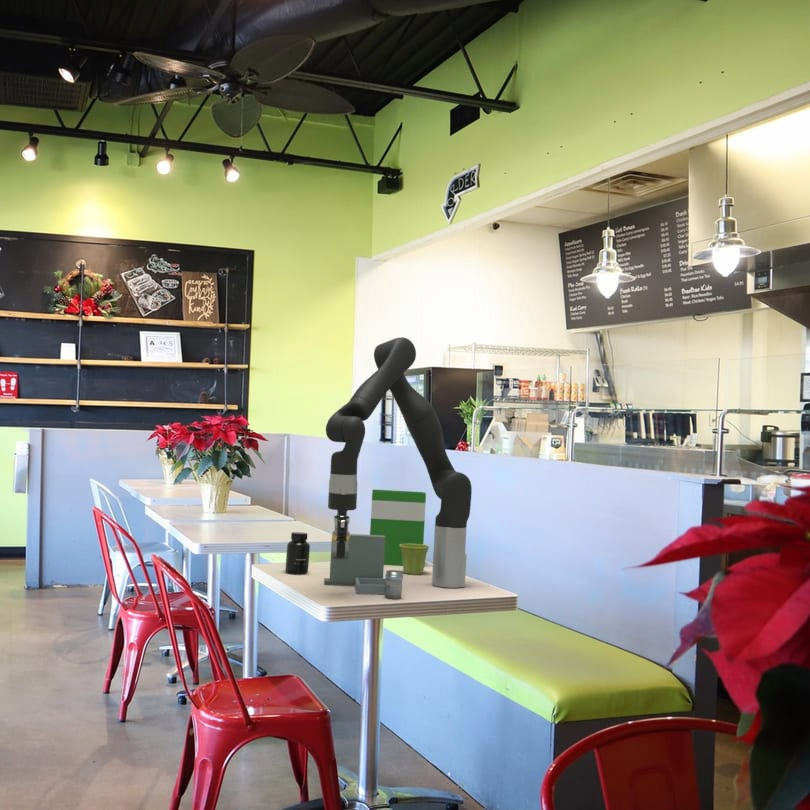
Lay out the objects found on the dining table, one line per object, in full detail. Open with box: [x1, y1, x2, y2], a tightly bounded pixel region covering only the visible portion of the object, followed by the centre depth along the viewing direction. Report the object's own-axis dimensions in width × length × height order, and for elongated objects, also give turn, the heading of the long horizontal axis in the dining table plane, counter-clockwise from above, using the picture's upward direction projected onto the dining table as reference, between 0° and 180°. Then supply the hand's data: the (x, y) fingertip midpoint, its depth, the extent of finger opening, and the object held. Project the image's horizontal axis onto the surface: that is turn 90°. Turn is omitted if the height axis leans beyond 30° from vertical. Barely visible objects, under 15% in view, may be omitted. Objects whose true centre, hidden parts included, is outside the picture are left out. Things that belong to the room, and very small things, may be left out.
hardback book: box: [369, 489, 427, 567], centre depth 305 cm, size 18×7×24 cm, turn 91°
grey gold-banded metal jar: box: [331, 530, 350, 560], centre depth 243 cm, size 5×5×7 cm
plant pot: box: [399, 544, 430, 575], centre depth 287 cm, size 9×9×9 cm
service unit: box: [323, 532, 385, 587], centre depth 261 cm, size 18×5×14 cm, turn 96°
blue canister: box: [384, 569, 404, 601], centre depth 244 cm, size 5×5×7 cm
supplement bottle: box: [285, 531, 311, 575], centre depth 276 cm, size 7×7×12 cm
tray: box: [354, 578, 386, 596], centre depth 253 cm, size 11×11×2 cm
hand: (340, 555), depth 243 cm, fingers closed on grey gold-banded metal jar, 4 cm apart
